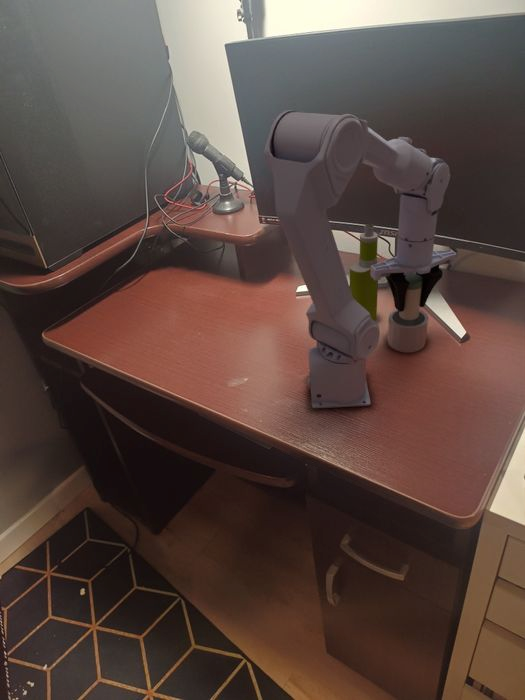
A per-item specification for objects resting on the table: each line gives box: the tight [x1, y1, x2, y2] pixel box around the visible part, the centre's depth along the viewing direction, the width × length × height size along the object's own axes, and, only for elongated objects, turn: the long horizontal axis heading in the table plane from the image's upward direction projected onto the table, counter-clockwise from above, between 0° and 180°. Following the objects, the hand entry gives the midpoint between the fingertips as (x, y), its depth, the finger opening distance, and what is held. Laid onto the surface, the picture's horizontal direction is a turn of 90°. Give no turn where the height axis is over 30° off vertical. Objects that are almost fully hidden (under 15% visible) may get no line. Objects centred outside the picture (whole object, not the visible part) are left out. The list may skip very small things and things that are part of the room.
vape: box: [349, 223, 380, 322], centre depth 88 cm, size 4×6×20 cm, turn 129°
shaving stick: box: [399, 273, 423, 320], centre depth 81 cm, size 4×4×8 cm
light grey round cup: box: [387, 308, 429, 353], centre depth 86 cm, size 7×7×6 cm
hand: (409, 306), depth 83 cm, fingers closed on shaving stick, 3 cm apart
